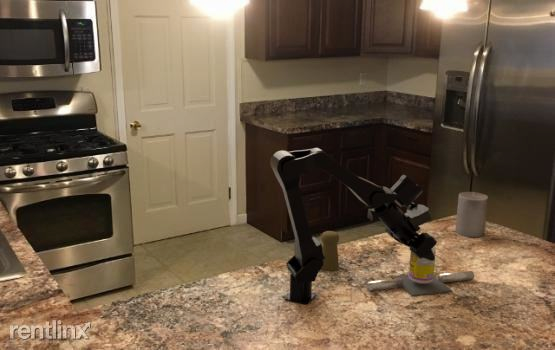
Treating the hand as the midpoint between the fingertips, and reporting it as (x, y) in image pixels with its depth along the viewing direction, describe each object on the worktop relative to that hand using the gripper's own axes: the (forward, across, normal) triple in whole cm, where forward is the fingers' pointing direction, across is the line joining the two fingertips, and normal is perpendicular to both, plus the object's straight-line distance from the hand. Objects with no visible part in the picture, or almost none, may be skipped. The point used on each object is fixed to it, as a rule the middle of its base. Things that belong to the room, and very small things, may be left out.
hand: (427, 254), depth 154 cm
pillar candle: (+32, +34, -20) cm, 51 cm away
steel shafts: (+5, 0, +7) cm, 9 cm away
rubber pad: (+5, 0, +7) cm, 9 cm away
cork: (-9, +17, +22) cm, 29 cm away
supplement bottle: (+4, 0, +6) cm, 7 cm away
